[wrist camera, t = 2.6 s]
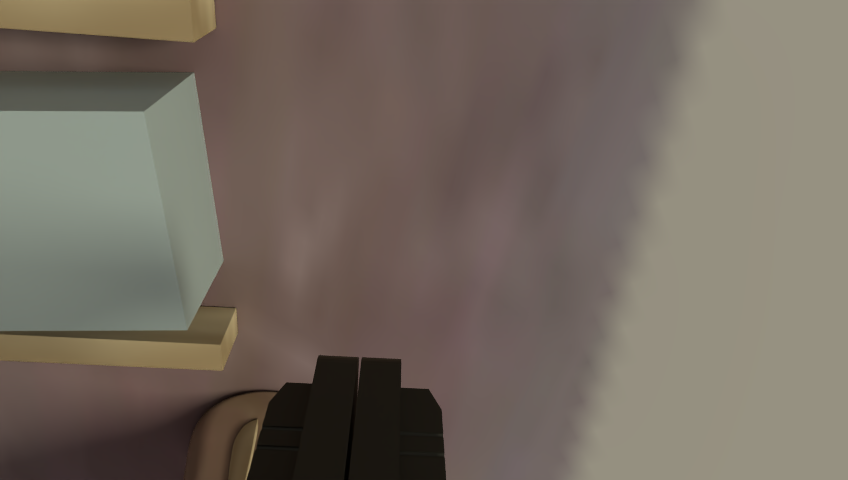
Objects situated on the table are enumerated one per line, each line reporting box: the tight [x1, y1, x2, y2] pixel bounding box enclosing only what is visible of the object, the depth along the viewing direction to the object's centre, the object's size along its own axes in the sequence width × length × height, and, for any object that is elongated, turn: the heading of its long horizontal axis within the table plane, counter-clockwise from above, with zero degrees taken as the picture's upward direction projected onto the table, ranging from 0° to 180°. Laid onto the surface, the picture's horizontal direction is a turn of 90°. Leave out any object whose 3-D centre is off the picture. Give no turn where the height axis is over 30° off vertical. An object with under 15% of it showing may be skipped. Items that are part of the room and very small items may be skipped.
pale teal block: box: [0, 71, 223, 331], centre depth 17 cm, size 6×8×4 cm
